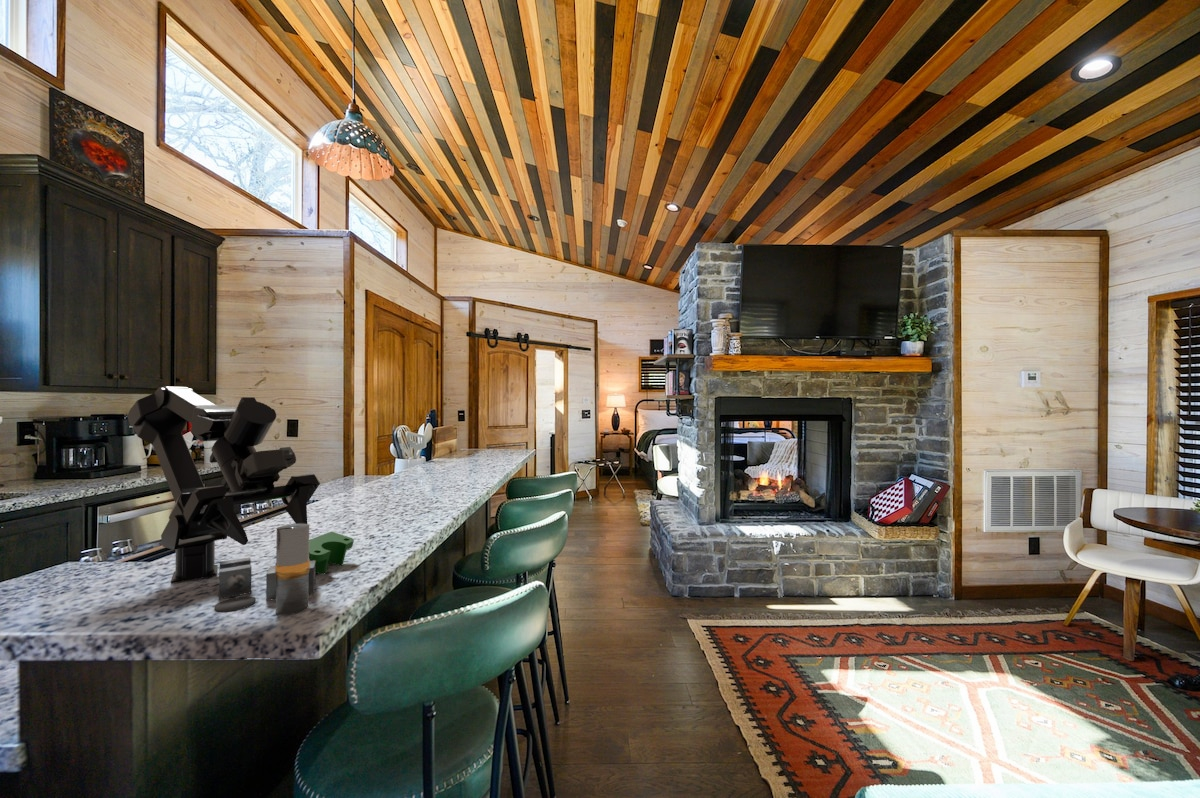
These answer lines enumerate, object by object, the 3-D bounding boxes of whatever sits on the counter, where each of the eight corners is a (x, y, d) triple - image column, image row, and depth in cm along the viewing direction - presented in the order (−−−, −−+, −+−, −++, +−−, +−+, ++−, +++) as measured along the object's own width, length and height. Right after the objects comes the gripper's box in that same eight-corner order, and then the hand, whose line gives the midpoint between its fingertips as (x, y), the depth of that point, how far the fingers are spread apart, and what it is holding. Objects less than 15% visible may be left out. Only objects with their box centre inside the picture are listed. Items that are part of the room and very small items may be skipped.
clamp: (314, 598, 93) (311, 562, 89) (287, 589, 94) (282, 553, 90) (357, 556, 104) (355, 522, 100) (332, 548, 104) (330, 514, 101)
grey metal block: (219, 586, 87) (219, 561, 87) (250, 581, 90) (250, 557, 90) (218, 599, 81) (219, 572, 82) (251, 592, 84) (251, 567, 84)
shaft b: (266, 600, 81) (266, 573, 81) (270, 591, 85) (270, 565, 85) (313, 593, 84) (313, 567, 84) (315, 584, 88) (315, 560, 88)
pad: (214, 603, 80) (214, 601, 80) (255, 595, 83) (255, 593, 83) (213, 614, 76) (213, 612, 76) (256, 605, 79) (256, 604, 79)
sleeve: (273, 607, 78) (274, 526, 78) (307, 600, 81) (308, 522, 81) (276, 617, 74) (277, 532, 75) (310, 610, 77) (311, 527, 77)
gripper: (192, 435, 74) (230, 516, 69) (314, 430, 91) (352, 494, 85) (168, 484, 78) (202, 564, 73) (289, 470, 94) (324, 534, 89)
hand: (277, 536), depth 80 cm, fingers open, 9 cm apart
